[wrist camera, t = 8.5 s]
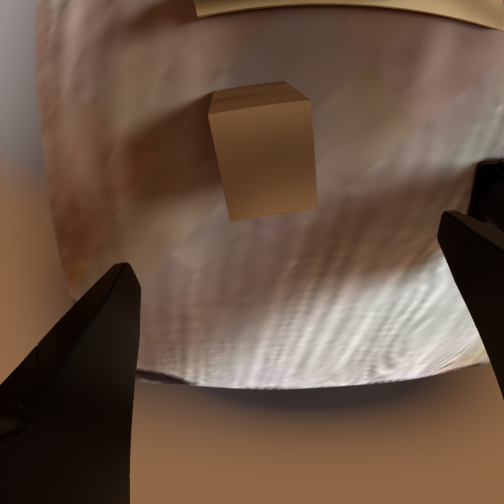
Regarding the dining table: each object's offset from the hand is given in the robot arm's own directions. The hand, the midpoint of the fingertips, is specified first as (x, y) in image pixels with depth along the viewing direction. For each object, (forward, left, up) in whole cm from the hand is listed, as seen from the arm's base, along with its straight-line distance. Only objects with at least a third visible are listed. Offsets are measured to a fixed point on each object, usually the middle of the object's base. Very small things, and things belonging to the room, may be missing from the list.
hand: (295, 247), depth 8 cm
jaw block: (0, 0, -12) cm, 12 cm away
